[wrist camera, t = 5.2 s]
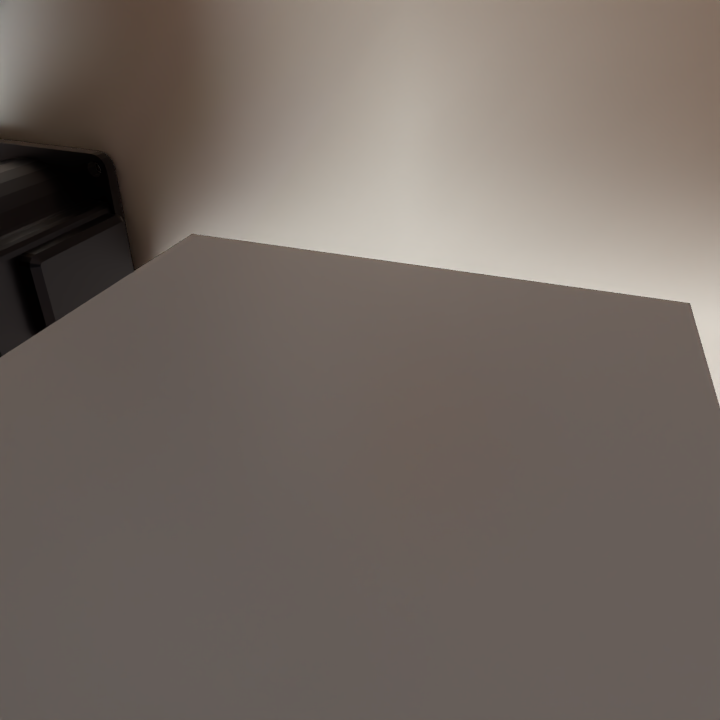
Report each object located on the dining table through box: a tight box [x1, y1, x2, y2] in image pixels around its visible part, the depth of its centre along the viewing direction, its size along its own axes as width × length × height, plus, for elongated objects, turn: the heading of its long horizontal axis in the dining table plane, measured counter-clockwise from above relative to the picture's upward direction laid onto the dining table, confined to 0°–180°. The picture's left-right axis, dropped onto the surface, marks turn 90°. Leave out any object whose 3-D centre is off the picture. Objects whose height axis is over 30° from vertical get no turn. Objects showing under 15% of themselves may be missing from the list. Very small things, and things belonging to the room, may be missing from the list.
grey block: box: [0, 234, 720, 720], centre depth 8 cm, size 8×8×9 cm
